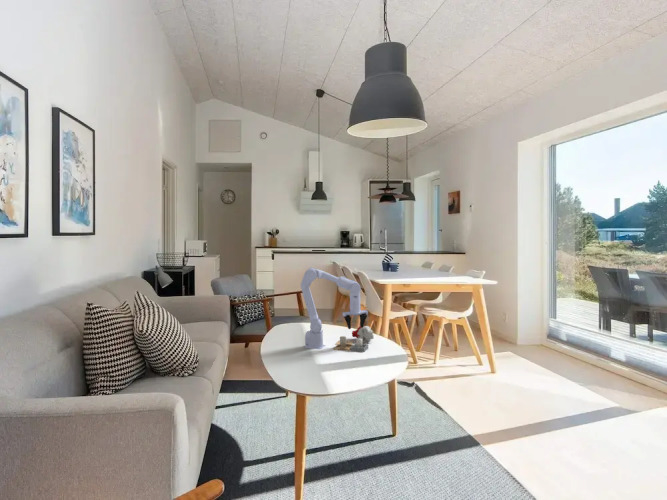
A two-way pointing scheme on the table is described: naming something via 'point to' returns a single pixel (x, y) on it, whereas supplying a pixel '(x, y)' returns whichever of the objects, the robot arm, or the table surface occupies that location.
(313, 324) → the robot arm
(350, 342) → the oak lid
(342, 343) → the grey capsule cylinder
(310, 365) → the table surface
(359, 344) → the pale grey capsule
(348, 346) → the oak box
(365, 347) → the slate dish
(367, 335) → the white and red lump
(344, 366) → the table surface
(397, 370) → the table surface
